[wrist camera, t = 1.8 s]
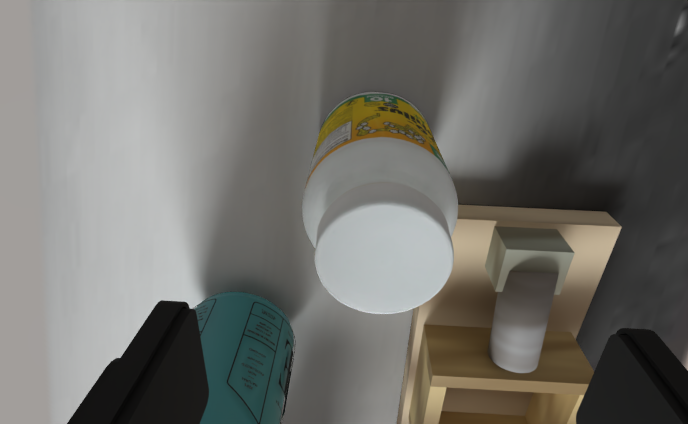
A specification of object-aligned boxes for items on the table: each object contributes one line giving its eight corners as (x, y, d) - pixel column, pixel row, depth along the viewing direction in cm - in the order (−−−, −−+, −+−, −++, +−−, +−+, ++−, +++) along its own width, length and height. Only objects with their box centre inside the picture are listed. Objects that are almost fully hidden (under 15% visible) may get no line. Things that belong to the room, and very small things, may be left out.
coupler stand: (429, 203, 22) (445, 261, 17) (606, 211, 22) (669, 273, 17) (391, 456, 33) (396, 532, 28) (509, 463, 32) (533, 541, 28)
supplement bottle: (296, 147, 21) (250, 264, 12) (373, 62, 19) (380, 133, 10) (376, 213, 22) (383, 357, 14) (454, 142, 20) (518, 260, 12)
